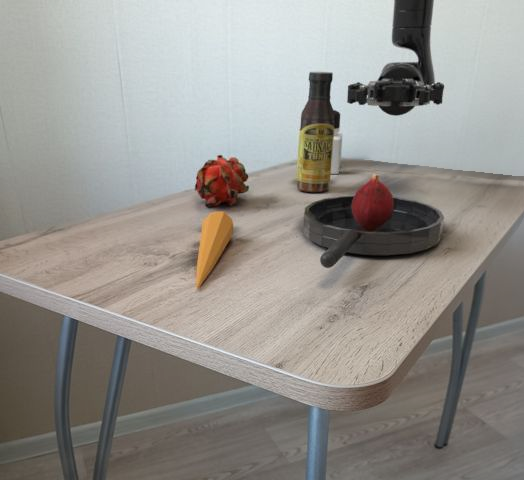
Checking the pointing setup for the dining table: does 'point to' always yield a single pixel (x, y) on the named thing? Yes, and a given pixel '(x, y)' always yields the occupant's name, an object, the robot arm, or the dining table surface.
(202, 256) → the carrot
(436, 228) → the pan
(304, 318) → the dining table surface
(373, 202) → the onion
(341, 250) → the pan handle
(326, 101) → the sauce bottle
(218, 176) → the dragon fruit
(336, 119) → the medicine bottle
